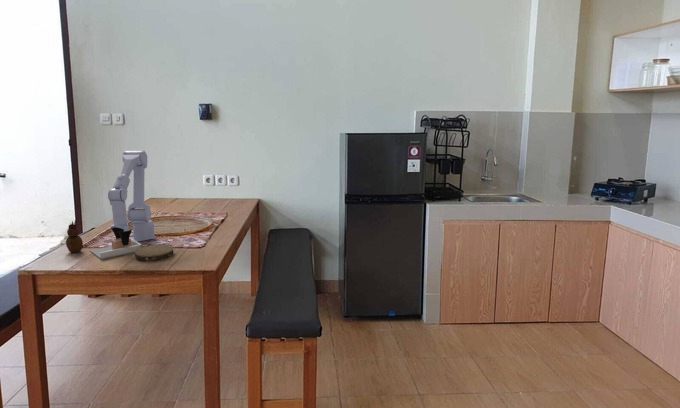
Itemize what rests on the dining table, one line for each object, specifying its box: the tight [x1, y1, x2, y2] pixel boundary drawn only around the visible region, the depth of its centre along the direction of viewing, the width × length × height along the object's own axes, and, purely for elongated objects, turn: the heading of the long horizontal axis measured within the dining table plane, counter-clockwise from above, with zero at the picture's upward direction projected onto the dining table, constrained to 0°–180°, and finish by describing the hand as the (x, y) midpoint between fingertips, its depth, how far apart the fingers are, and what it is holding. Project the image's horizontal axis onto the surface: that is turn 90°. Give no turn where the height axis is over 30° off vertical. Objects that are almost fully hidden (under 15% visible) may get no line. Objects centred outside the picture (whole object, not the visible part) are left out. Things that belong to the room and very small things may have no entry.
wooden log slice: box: [134, 244, 174, 263], centre depth 213 cm, size 16×16×3 cm
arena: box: [89, 237, 143, 260], centre depth 220 cm, size 18×16×3 cm
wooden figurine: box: [65, 219, 84, 254], centre depth 218 cm, size 7×6×15 cm
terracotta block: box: [111, 237, 131, 250], centre depth 220 cm, size 4×7×5 cm, turn 133°
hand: (122, 243), depth 220 cm, fingers open, 7 cm apart
